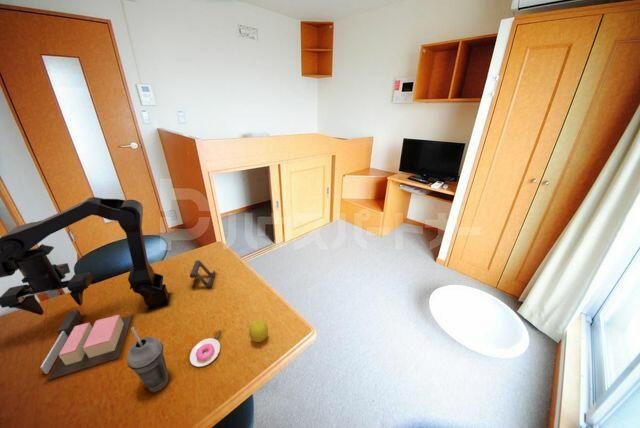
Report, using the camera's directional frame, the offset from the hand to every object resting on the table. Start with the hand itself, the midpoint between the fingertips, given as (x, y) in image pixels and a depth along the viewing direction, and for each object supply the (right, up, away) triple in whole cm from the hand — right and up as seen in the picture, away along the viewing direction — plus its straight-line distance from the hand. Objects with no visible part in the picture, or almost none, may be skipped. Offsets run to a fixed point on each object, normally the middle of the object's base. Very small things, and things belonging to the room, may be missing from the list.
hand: (62, 309), depth 74 cm
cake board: (+12, -10, -2) cm, 16 cm away
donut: (+47, -11, -2) cm, 48 cm away
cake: (+15, -9, -1) cm, 18 cm away
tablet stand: (+33, +1, +23) cm, 40 cm away
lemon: (+62, -10, +1) cm, 62 cm away
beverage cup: (+38, -15, -11) cm, 42 cm away
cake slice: (+9, -10, -3) cm, 14 cm away
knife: (+2, -10, -1) cm, 10 cm away
